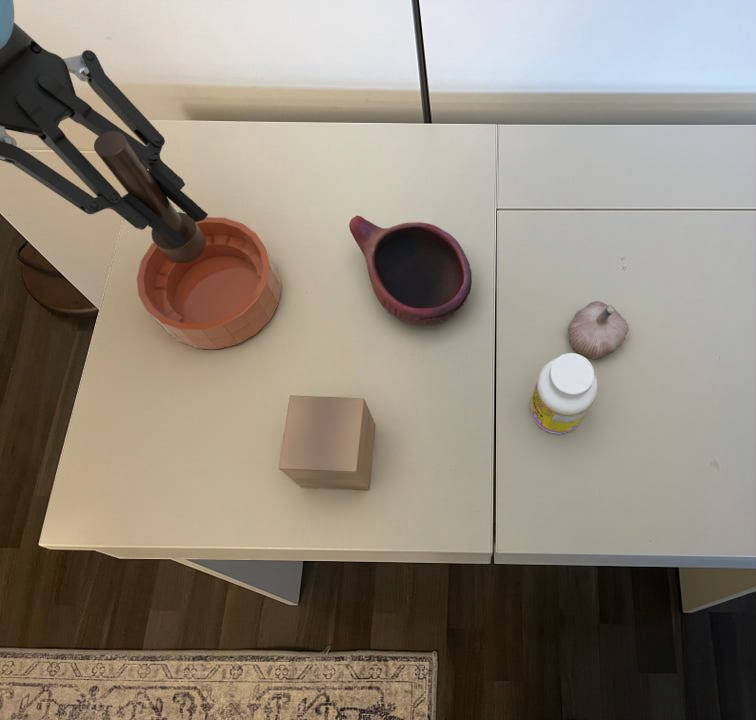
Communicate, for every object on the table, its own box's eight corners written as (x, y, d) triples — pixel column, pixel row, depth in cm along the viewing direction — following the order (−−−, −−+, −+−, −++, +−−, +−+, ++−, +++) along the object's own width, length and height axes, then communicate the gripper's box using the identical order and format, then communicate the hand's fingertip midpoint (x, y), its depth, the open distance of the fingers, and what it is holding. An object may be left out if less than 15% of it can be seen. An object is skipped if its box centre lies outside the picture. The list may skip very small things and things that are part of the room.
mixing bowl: (192, 373, 82) (170, 353, 76) (140, 281, 86) (116, 256, 80) (303, 310, 85) (291, 287, 79) (248, 225, 90) (232, 197, 84)
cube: (300, 487, 77) (278, 468, 67) (309, 421, 80) (289, 395, 70) (369, 490, 77) (356, 472, 67) (375, 424, 80) (364, 398, 70)
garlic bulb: (624, 314, 86) (639, 285, 79) (623, 366, 83) (639, 341, 76) (567, 309, 86) (576, 279, 79) (564, 360, 83) (574, 334, 76)
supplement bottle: (530, 382, 82) (541, 341, 70) (582, 385, 82) (603, 344, 70) (529, 434, 80) (540, 401, 68) (583, 436, 80) (605, 404, 68)
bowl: (477, 255, 89) (478, 221, 82) (465, 341, 84) (465, 313, 77) (359, 242, 89) (350, 207, 82) (341, 327, 84) (330, 298, 77)
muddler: (174, 270, 73) (94, 174, 57) (155, 240, 74) (73, 137, 59) (213, 250, 74) (146, 149, 58) (194, 220, 76) (124, 114, 60)
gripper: (26, -8, 61) (227, 181, 74) (-112, 106, 56) (131, 289, 68) (34, -40, 55) (251, 171, 68) (-119, 84, 50) (147, 288, 62)
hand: (190, 230), depth 68 cm, fingers closed on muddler, 3 cm apart
